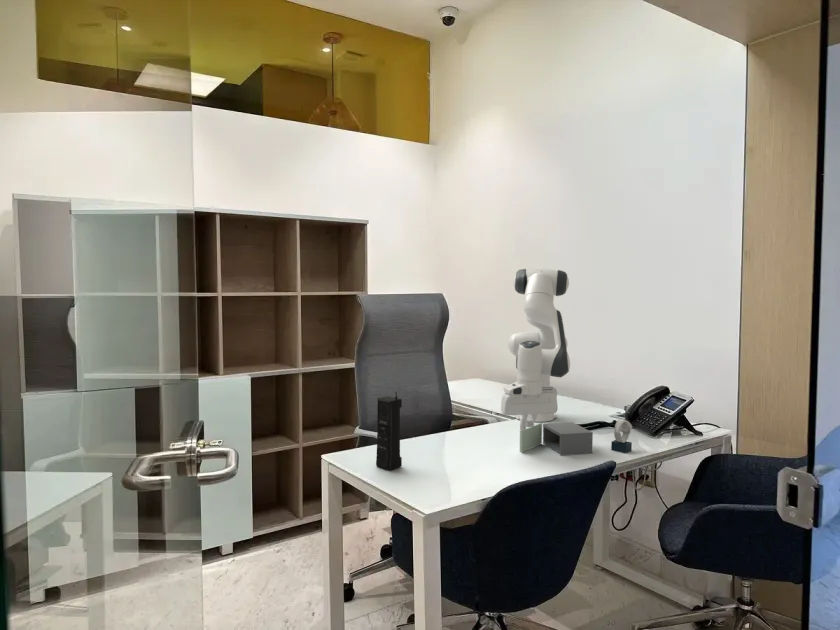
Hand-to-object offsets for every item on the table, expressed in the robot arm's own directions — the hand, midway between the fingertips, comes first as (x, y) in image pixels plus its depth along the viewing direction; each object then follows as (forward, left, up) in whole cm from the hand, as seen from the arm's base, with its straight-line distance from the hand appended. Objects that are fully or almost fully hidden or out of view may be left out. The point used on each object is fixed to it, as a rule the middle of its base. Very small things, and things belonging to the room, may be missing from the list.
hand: (529, 426), depth 192 cm
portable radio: (+3, -51, -10) cm, 52 cm away
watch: (+3, +34, -10) cm, 36 cm away
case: (-3, +16, -10) cm, 19 cm away
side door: (-6, +3, -9) cm, 11 cm away
